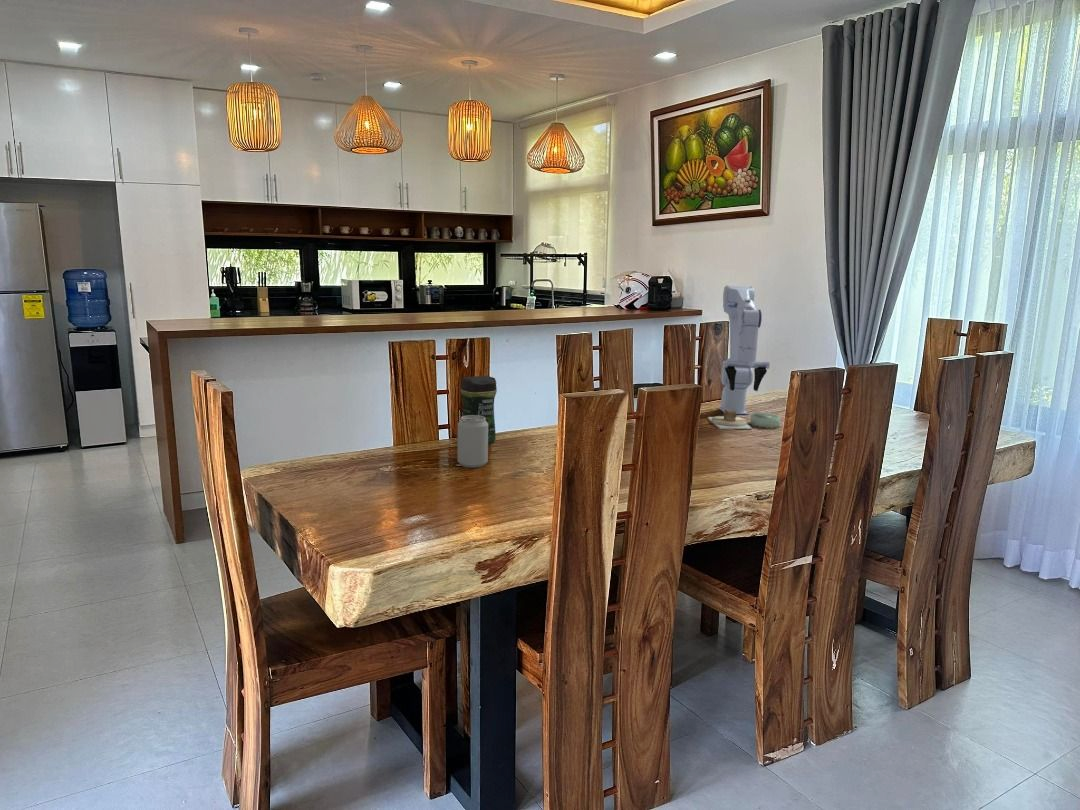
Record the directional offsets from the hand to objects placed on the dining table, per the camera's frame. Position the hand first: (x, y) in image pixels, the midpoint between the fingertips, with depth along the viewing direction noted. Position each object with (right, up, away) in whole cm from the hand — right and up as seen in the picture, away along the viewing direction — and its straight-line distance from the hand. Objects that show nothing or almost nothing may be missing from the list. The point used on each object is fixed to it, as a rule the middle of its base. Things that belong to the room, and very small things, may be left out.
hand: (743, 390), depth 234 cm
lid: (-5, -10, -1) cm, 12 cm away
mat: (-5, -11, -1) cm, 12 cm away
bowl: (+6, -11, -1) cm, 13 cm away
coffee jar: (-82, -15, -32) cm, 90 cm away
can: (-82, -20, -52) cm, 99 cm away
